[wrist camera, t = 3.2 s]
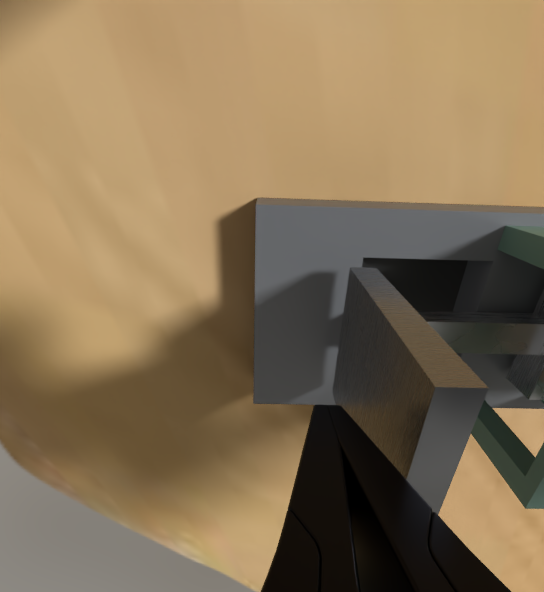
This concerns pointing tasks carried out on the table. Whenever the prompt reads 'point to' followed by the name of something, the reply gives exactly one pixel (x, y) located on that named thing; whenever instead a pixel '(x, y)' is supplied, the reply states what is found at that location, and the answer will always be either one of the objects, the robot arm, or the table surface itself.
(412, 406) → the sled
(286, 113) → the table surface
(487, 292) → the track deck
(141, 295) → the table surface
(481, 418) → the tunnel
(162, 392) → the table surface
